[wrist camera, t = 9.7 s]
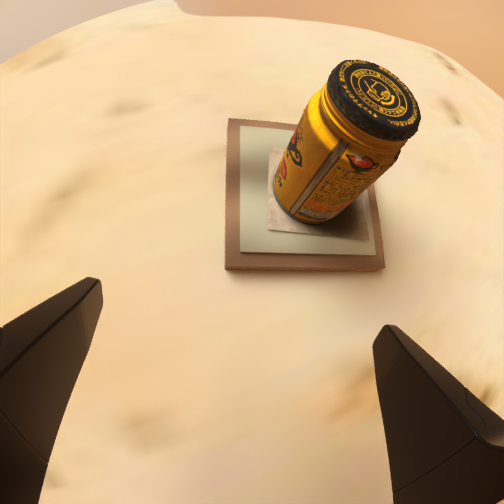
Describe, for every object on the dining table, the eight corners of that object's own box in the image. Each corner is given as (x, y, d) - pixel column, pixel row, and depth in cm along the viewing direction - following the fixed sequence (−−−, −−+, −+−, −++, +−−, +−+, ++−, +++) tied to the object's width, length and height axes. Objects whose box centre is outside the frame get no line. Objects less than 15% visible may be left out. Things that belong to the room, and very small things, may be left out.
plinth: (377, 270, 25) (386, 267, 23) (224, 269, 23) (226, 265, 21) (358, 142, 28) (364, 134, 27) (227, 126, 26) (229, 116, 25)
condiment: (268, 147, 24) (313, 34, 13) (360, 164, 26) (437, 79, 14) (265, 230, 23) (326, 135, 11) (367, 241, 24) (472, 178, 12)
